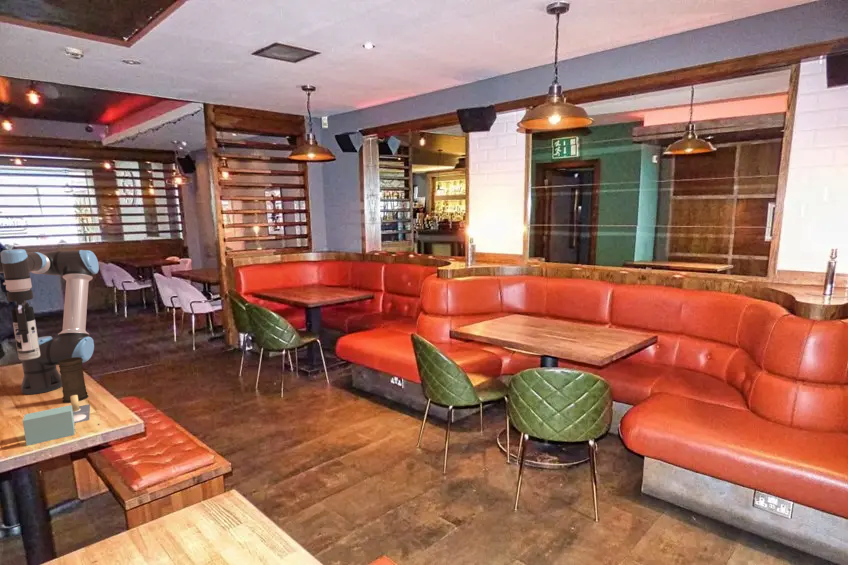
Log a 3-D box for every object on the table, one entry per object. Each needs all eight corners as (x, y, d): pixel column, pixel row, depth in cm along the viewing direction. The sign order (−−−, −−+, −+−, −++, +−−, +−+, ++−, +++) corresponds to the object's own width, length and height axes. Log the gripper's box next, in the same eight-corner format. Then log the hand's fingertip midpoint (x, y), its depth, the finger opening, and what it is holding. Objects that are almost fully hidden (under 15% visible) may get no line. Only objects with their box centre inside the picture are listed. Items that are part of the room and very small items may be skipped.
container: (75, 405, 195) (69, 363, 192) (57, 404, 197) (51, 362, 194) (94, 397, 204) (88, 357, 201) (76, 396, 206) (71, 356, 203)
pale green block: (28, 438, 167) (25, 414, 166) (75, 428, 175) (71, 404, 173) (26, 445, 162) (22, 420, 160) (74, 434, 169) (70, 411, 168)
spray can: (15, 361, 181) (6, 310, 178) (24, 356, 187) (16, 306, 184) (35, 359, 183) (27, 309, 180) (44, 354, 189) (36, 305, 186)
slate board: (37, 417, 185) (34, 400, 184) (90, 406, 194) (87, 390, 193) (31, 435, 170) (29, 416, 169) (89, 422, 179) (87, 404, 178)
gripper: (10, 287, 187) (19, 344, 190) (2, 294, 171) (12, 356, 174) (34, 285, 191) (43, 341, 195) (29, 292, 175) (38, 352, 179)
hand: (28, 348), depth 185 cm, fingers closed on spray can, 7 cm apart
